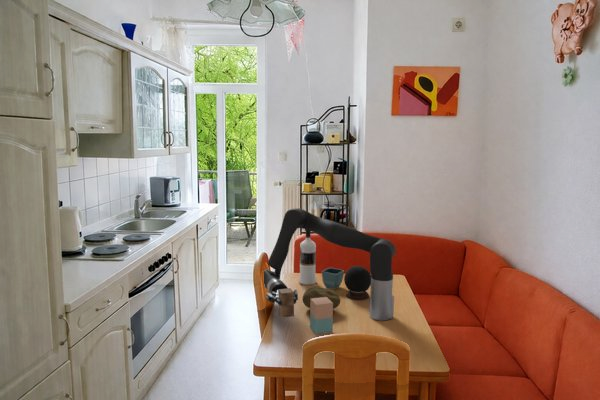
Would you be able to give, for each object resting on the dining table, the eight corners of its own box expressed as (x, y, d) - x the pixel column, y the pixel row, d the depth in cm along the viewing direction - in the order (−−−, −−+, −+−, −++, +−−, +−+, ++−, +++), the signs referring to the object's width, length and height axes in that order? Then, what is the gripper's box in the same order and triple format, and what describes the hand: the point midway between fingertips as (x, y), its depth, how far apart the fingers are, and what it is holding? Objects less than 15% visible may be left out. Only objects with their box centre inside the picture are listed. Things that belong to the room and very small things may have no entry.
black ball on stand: (363, 303, 208) (364, 271, 206) (338, 297, 215) (339, 267, 213) (375, 295, 219) (376, 265, 216) (351, 289, 226) (352, 261, 224)
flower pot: (344, 286, 230) (344, 270, 229) (336, 291, 223) (336, 274, 222) (329, 283, 235) (329, 267, 234) (320, 288, 227) (321, 271, 226)
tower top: (326, 311, 182) (326, 296, 181) (332, 317, 175) (333, 303, 175) (310, 312, 180) (310, 298, 179) (315, 319, 173) (316, 304, 173)
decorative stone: (341, 307, 202) (341, 285, 201) (339, 316, 192) (339, 294, 190) (304, 304, 206) (305, 283, 204) (300, 313, 195) (300, 291, 193)
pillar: (290, 311, 184) (290, 288, 182) (294, 316, 179) (293, 292, 177) (278, 313, 182) (278, 289, 181) (282, 317, 177) (281, 293, 176)
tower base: (326, 324, 183) (326, 310, 182) (332, 332, 176) (332, 317, 176) (310, 326, 181) (310, 312, 180) (315, 334, 174) (315, 319, 173)
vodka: (316, 285, 232) (317, 228, 228) (299, 285, 232) (299, 228, 227) (315, 279, 241) (316, 225, 237) (298, 279, 241) (298, 225, 237)
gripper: (260, 282, 191) (270, 295, 174) (293, 279, 195) (305, 291, 179) (261, 299, 192) (270, 313, 175) (293, 295, 196) (305, 309, 180)
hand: (287, 302), depth 177 cm, fingers closed on pillar, 5 cm apart
